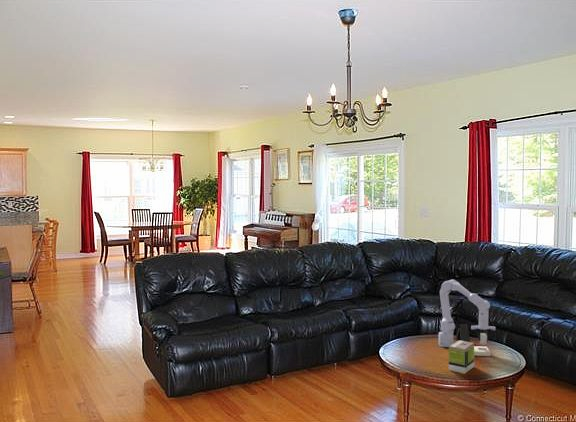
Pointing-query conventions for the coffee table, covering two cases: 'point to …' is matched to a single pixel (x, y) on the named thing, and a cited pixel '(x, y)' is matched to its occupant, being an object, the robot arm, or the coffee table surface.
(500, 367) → the coffee table surface
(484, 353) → the socket board
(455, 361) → the tea box
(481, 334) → the aluminium peg
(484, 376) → the coffee table surface
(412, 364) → the coffee table surface
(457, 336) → the door stopper
